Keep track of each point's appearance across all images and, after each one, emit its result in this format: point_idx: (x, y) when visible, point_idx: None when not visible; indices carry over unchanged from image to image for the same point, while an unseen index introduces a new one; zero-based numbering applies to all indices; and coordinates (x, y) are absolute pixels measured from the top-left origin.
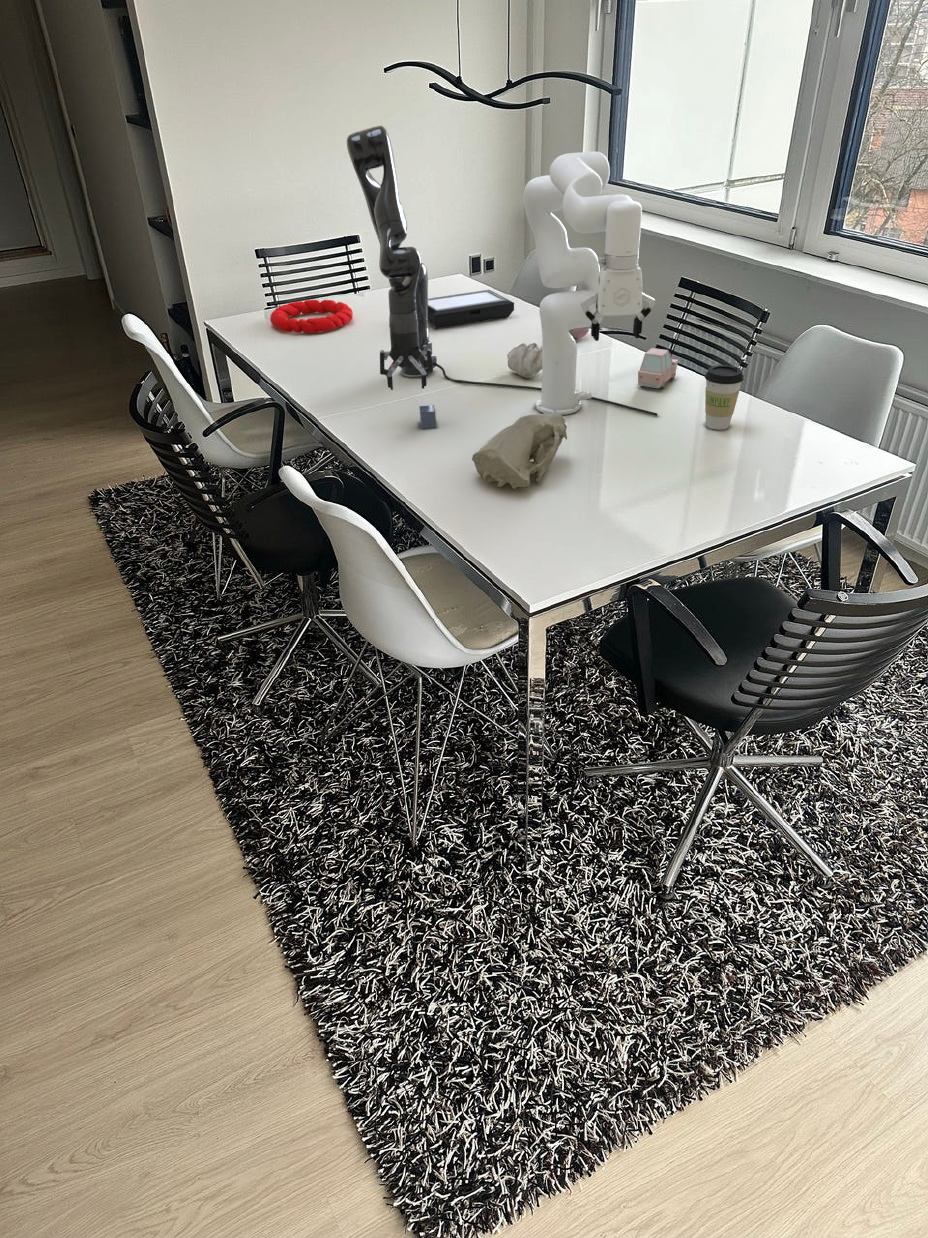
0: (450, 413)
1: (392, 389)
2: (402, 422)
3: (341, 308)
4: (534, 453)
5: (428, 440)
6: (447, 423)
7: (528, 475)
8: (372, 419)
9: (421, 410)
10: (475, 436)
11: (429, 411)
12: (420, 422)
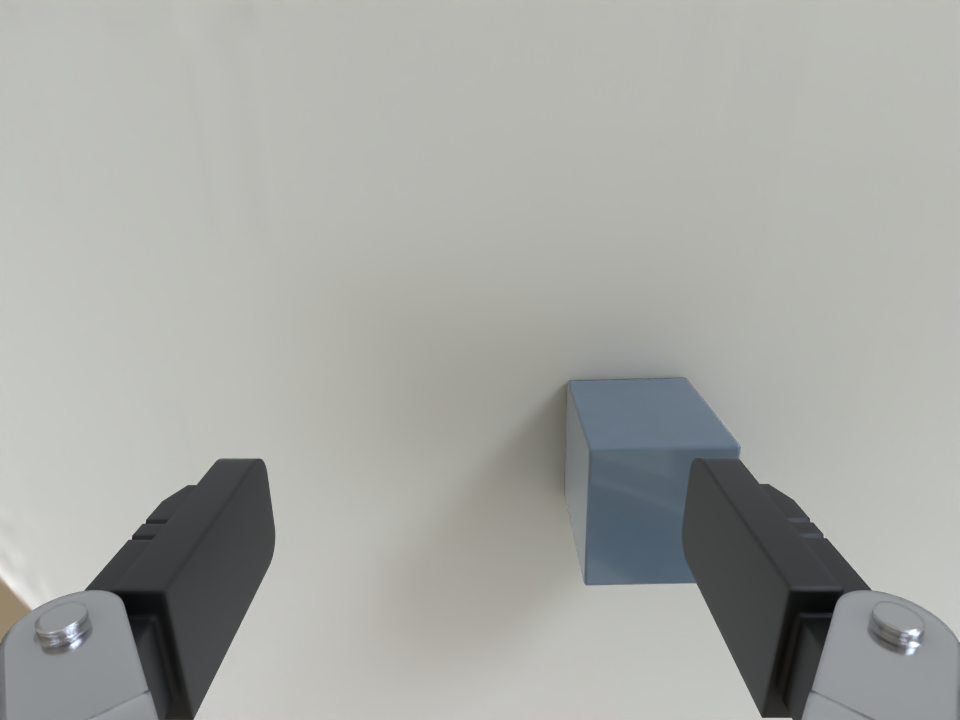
0: (859, 218)
1: (266, 552)
2: (422, 359)
3: None
4: None
5: (593, 660)
6: (776, 426)
7: None
8: (156, 258)
9: (598, 552)
10: None
11: (668, 579)
12: (568, 433)
